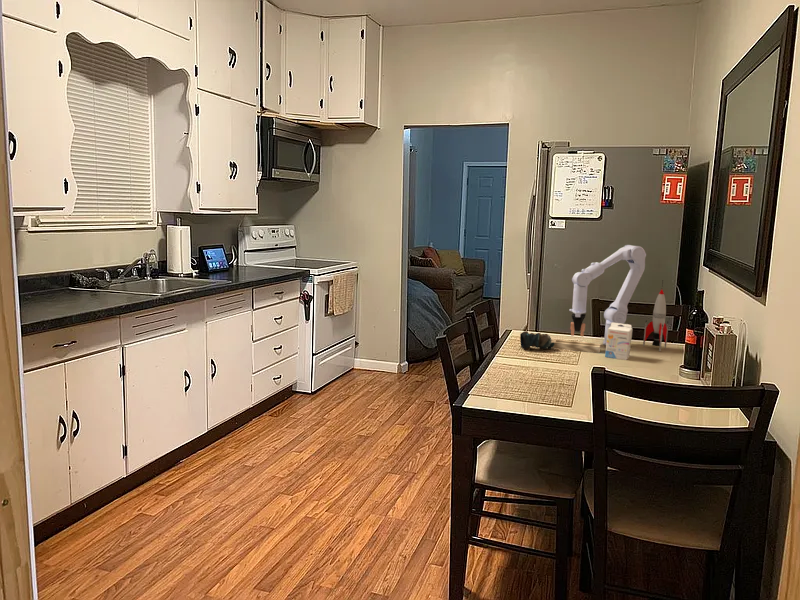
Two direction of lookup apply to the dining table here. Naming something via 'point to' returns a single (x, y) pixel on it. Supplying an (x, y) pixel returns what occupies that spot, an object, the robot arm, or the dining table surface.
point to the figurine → (535, 341)
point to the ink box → (618, 341)
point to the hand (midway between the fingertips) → (577, 330)
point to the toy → (657, 322)
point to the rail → (576, 346)
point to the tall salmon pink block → (580, 330)
